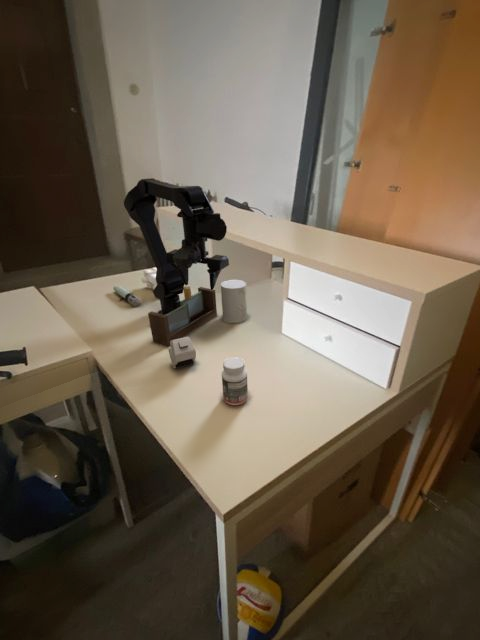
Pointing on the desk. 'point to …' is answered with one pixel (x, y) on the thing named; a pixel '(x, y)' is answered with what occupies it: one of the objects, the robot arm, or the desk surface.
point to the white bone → (150, 278)
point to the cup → (234, 301)
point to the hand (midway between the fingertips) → (199, 287)
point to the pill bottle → (234, 381)
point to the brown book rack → (182, 319)
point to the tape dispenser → (182, 352)
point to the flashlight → (127, 296)
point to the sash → (192, 301)
